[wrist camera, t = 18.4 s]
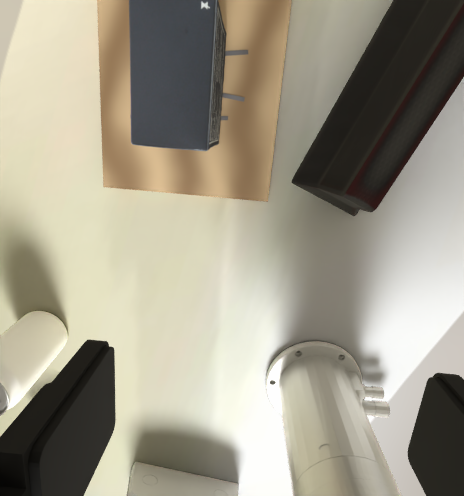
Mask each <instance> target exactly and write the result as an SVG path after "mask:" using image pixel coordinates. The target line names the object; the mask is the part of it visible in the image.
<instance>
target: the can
mask: <svg viewBox="0 0 464 496" xmlns="http://www.w3.org/2000/svg"><path fill="white" fill-rule="evenodd" d="M67 338H68V334H67V330H66V327H65V325H64V324H63V322H62V321H61V320H60V319H59V318H58V317H56V316H55V315H53V314H51V313H48V312H44V311H33V312H29V313H27V314H26V315H24V316H23V317H22V318H21V319H19V320H18V321H17V322H16V323H15V324H14V325H12V326H11V327H10V328H9V329H8V330H6V331H5V332H4V333H3V334H2V335H1V336H0V416H1V415H2V414H4V413H5V412H6V410H8V409H10V408H12V407H13V406H15V405H16V404H17V403H18V402H19V401H20V400H21V399H22V397H23V396H24V395H25V394H26V393H27V392H28V390H29V389H30V388H31V387H32V385H33V384H34V383H35V382H36V381H37V379H38V378H39V377H40V376H41V375H42V373H43V372H44V371H45V370H46V368H47V367H48V366H49V365H50V364H51V362H52V361H53V360H54V359H55V357H56V356H57V355H58V354H59V352H60V351H61V350H62V349H63V347H64V346H65V344H66V342H67Z"/></svg>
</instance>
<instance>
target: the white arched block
mask: <svg viewBox="0 0 464 496" xmlns="http://www.w3.org/2000/svg"><path fill="white" fill-rule="evenodd" d="M127 496H238V483H233V482H229V481H224V480H219V479H215V478H210V477H205V476H201V475H196V474H191V473H187V472H182V471H177V470H173V469H168V468H163V467H159V466H154V465H149V464H145V463H140V462H135V463H134V465H133V467H132V471H131V477H130V478H129V485H128V491H127Z"/></svg>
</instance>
